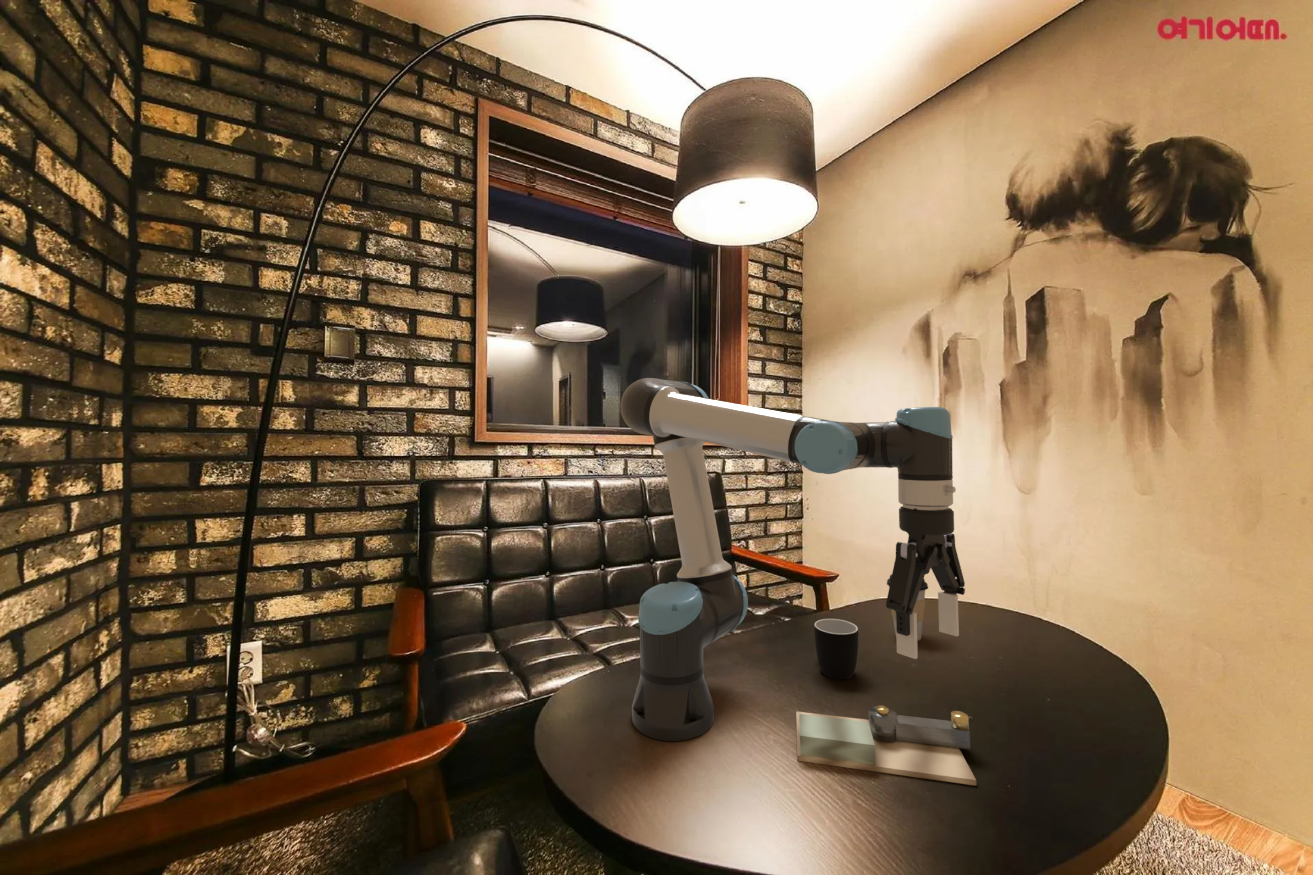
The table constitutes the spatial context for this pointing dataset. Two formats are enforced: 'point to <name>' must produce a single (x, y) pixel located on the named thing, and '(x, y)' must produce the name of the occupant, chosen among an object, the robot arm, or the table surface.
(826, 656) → the mug
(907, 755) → the board
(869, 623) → the table surface
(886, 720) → the latch bar
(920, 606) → the coffee cup
